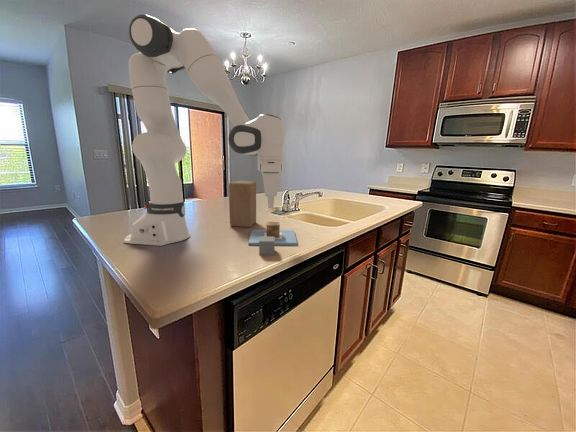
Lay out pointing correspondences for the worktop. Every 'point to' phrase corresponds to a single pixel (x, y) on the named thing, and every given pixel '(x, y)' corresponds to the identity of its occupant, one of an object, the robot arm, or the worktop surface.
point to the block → (242, 203)
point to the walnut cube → (273, 229)
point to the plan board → (284, 238)
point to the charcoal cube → (266, 245)
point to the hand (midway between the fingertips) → (270, 205)
